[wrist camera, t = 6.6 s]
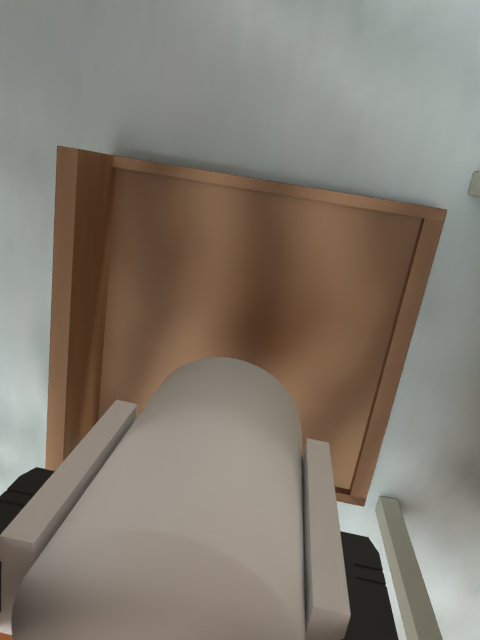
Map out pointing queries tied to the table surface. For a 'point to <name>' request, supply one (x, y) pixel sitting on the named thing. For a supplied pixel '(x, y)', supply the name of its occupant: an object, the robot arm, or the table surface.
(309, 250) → the tray
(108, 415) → the robot arm
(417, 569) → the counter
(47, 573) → the beige rounded cylinder
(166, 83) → the table surface
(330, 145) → the table surface
